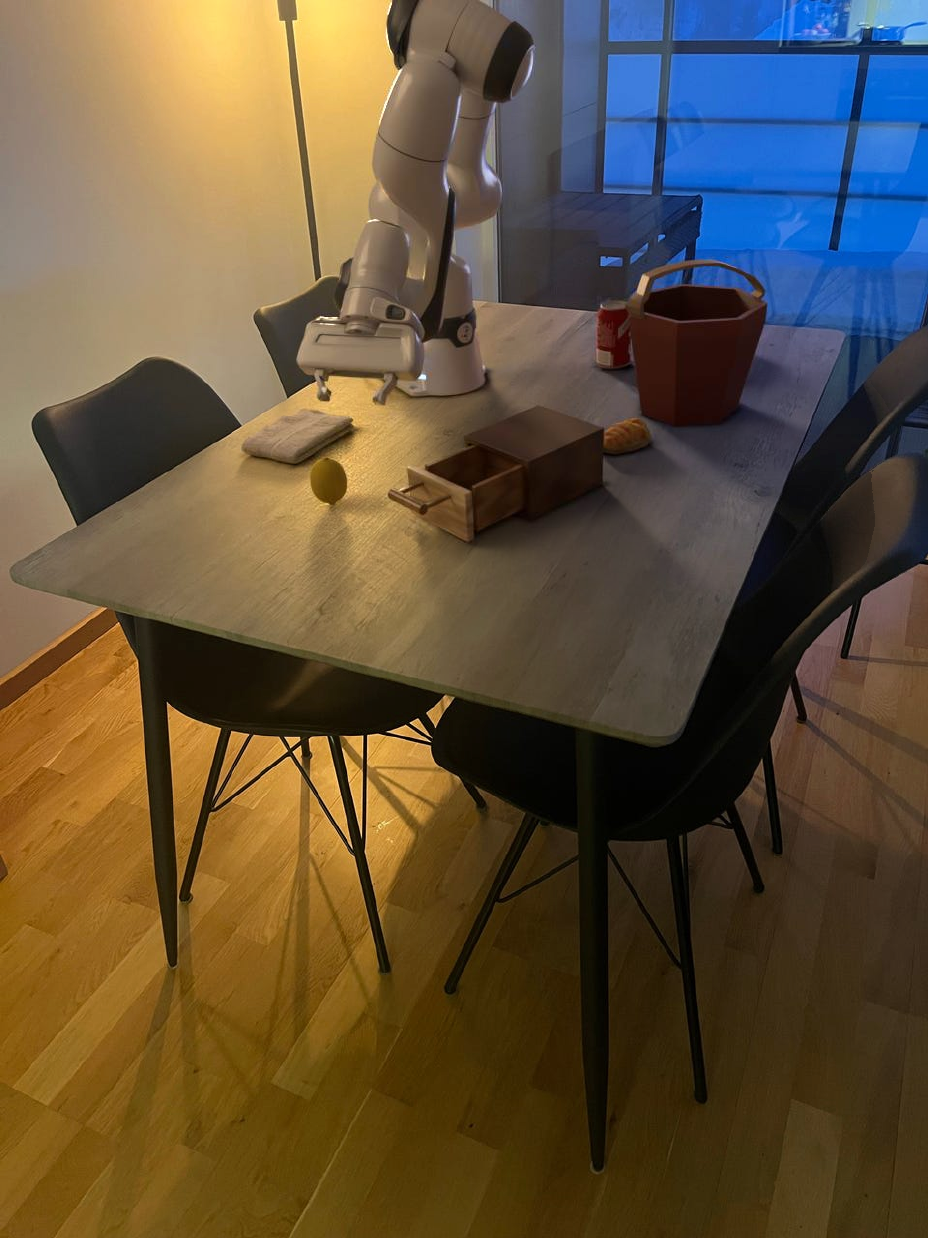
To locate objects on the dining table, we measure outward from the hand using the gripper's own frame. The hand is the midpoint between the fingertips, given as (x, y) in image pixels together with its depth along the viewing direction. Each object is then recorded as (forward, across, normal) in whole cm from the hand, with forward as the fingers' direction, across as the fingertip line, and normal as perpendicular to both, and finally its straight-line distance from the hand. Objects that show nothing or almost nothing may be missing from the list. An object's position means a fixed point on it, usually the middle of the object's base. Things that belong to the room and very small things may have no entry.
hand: (350, 401), depth 145 cm
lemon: (+16, 0, +2) cm, 16 cm away
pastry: (-6, +39, +24) cm, 46 cm away
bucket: (-19, +46, +37) cm, 62 cm away
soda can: (-32, +29, +51) cm, 67 cm away
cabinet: (+7, +28, +11) cm, 31 cm away
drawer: (+16, +21, +1) cm, 26 cm away
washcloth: (+1, -16, +17) cm, 24 cm away
